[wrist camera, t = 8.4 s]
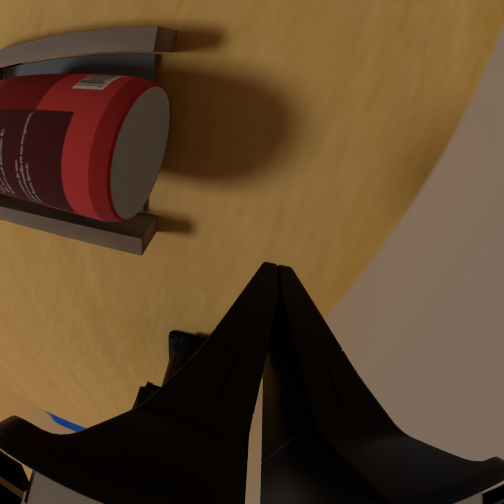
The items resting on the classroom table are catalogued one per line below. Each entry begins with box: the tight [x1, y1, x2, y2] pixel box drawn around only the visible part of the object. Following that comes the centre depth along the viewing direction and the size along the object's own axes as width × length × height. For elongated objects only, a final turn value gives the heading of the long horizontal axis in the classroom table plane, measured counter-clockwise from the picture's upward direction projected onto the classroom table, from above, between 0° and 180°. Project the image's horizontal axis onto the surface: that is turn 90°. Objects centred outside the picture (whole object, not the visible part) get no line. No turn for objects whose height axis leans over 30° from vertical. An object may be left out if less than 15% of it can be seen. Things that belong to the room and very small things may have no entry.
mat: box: [6, 54, 157, 213], centre depth 17 cm, size 11×14×1 cm
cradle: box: [0, 27, 177, 256], centre depth 16 cm, size 14×17×3 cm
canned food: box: [0, 74, 170, 222], centre depth 13 cm, size 8×8×11 cm
